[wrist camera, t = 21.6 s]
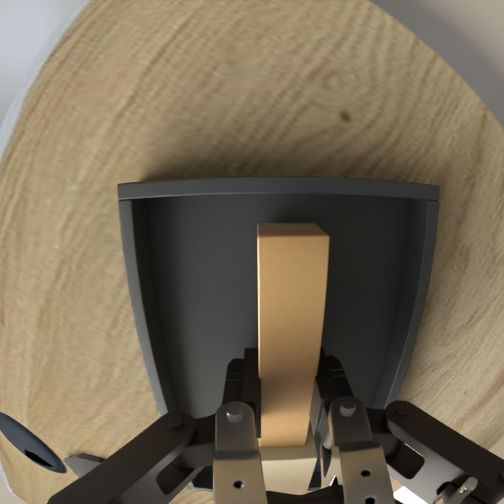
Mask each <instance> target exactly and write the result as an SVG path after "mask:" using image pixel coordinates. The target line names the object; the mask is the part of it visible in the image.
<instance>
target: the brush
mask: <svg viewBox="0 0 504 504" xmlns="http://www.w3.org/2000/svg"><path fill="white" fill-rule="evenodd" d="M329 242H330V237H329V235H328V234H326V233H325V232H324V231H323V230H322V229H321V228H320V227H319V226H317V225H316V224H315V223H258V224H257V261H258V376H259V378H260V379H261V438H259V439H257V441H258V449H259V452H260V455H261V461H262V468H263V475H264V483H265V490H266V491H275V492H282V493H289V494H296V495H303V494H306V493H307V490H308V487H309V484H310V481H311V478H312V474H313V471H314V468H315V464H316V461H317V451H316V446H315V441H314V436H313V432H312V427H311V421H310V416H309V412H310V406H311V400H312V394H313V387H314V380H315V376H317V372H318V365H319V357H320V349H321V341H322V332H323V322H324V312H325V301H326V289H327V276H328V261H329Z"/></svg>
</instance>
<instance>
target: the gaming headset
mask: <svg viewBox="0 0 504 504" xmlns="http://www.w3.org/2000/svg"><path fill="white" fill-rule="evenodd" d="M63 460H64V461H65V462H66V464H67V465H68V466H69V467H70V468H71V469H72V470H73V472H74V473H75V474H76V475H77V476H78V477H79V478H80V477H82V476H83V475H85V474H86V473H87V472H89V471H90V470H92V469H93V468H95V467H96V466H97V465H99V464H100V463H102V462H103V461H104V460H103V459H101V458H97V457H93V456H89V455H85V454H78V455H74V456H71V457H69V458H64V459H63Z"/></svg>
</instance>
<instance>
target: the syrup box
mask: <svg viewBox="0 0 504 504" xmlns="http://www.w3.org/2000/svg"><path fill="white" fill-rule="evenodd" d="M393 495H394V498H395V499H397V500H399V501H400V502H402V503H404V504H428V503H426V502H425V501H423V500H422V499H421V498H419V497H418V496H417V495H415V494H414V493H413V492H411V491H410V490H409V489H407V488H406V487H405V486H402V487H401V488H400V489H398V490H397V491H395V492H394V493H393Z"/></svg>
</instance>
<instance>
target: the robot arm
mask: <svg viewBox="0 0 504 504" xmlns="http://www.w3.org/2000/svg"><path fill="white" fill-rule="evenodd" d="M309 416H310V421H311V427H312V432H313V436H318V435H320V436H321V445H320V460H321V479H322V482H321V489H319V490H316V491H313V492H310V493H307V494H303V495H296V494H289V493H282V492H275V491H266V490H265V483H264V475H263V468H262V461H261V455H260V452H259V449H258V441H257V439H259V438H261V379H260V378H259V376H258V348H245V350H244V358H233V359H232V360H231V361H230V363H229V364H228V365H227V372H226V379H225V385H224V392H223V399H222V405H221V406H220V407H219V408H218V409H217V411H216V413H214V414H212V415H210V416H207V417H202V418H196V419H194V418H193V416H191V415H190V414H189V413H186V412H183V411H172V412H168V413H166V414H164V415H163V416H162V417H160V418H159V419H158V420H157V421H155V422H154V423H153V424H152V425H150V426H149V427H148V428H147V429H145V430H144V431H143V432H142V433H140V434H139V435H138V436H136V437H135V438H134V439H132V440H131V441H130V442H129V443H127V444H126V445H125V446H123V447H122V448H121V449H119V450H118V451H117V452H115V453H114V454H113V455H111V456H110V457H108V458H107V459H106V460H104V461H103V462H102V463H100V464H99V465H97V466H96V467H95V468H93V469H92V470H90V471H89V472H87V473H86V474H85V475H83V476H82V477H80V478H79V479H77V480H76V481H74V482H73V483H71V484H70V485H68V486H67V487H65V488H64V489H62V490H61V491H59V492H58V493H56V494H54V495H53V496H52V497H51V498H50V499H49V500H48V503H47V504H168V503H169V502H170V501H171V500H172V499H173V498H174V497H175V496H176V495H177V494H178V493H179V492H180V491H181V490H183V489H184V488H185V487H186V486H187V485H188V484H189V483H190V482H191V481H192V480H193V478H194V477H195V476H196V475H197V474H198V473H199V472H200V471H201V470H202V469H203V468H204V467H205V466H210V465H213V504H404V503H402V502H400V501H399V500H397V499H395V498H394V495H393V490H392V485H391V481H390V477H389V475H390V476H392V477H393V478H394V479H396V480H397V481H398V482H399V483H401V484H402V485H403V486H405V487H406V488H407V489H409V490H410V491H411V492H413V493H414V494H415V495H417V496H418V497H419V498H421V499H422V500H423V501H425V502H426V503H428V504H497V503H498V502H499V501H500V500H501V499H503V498H504V460H503V459H502V458H500V457H498V456H496V455H495V454H493V453H491V452H489V451H488V450H486V449H484V448H483V447H481V446H479V445H478V444H476V443H474V442H473V441H471V440H469V439H468V438H466V437H464V436H463V435H461V434H459V433H458V432H456V431H454V430H453V429H451V428H450V427H448V426H446V425H445V424H443V423H442V422H440V421H438V420H437V419H435V418H434V417H432V416H430V415H429V414H427V413H426V412H424V411H423V410H421V409H419V408H418V407H416V406H415V405H413V404H412V403H410V402H407V401H402V400H399V401H394V402H391V403H390V404H389V405H388V406H387V407H386V409H373V408H368V407H365V406H364V404H363V402H362V401H360V400H359V399H357V398H355V397H354V395H353V392H352V389H351V387H350V384H349V382H348V379H347V377H346V374H345V372H344V370H343V367H342V364H341V362H340V361H339V360H338V359H337V358H336V357H335V356H334V355H330V356H326V355H325V352H324V349H323V346H321V349H320V357H319V365H318V372H317V376H315V380H314V387H313V394H312V400H311V406H310V412H309ZM404 443H406V444H407V445H409V446H410V447H411V448H413V449H414V450H416V451H417V452H418V453H420V454H421V455H422V456H423V457H422V456H421V455H419V454H418V453H416V452H415V451H414V450H412V449H411V448H409V447H408V446H407V445H405V444H404Z"/></svg>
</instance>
